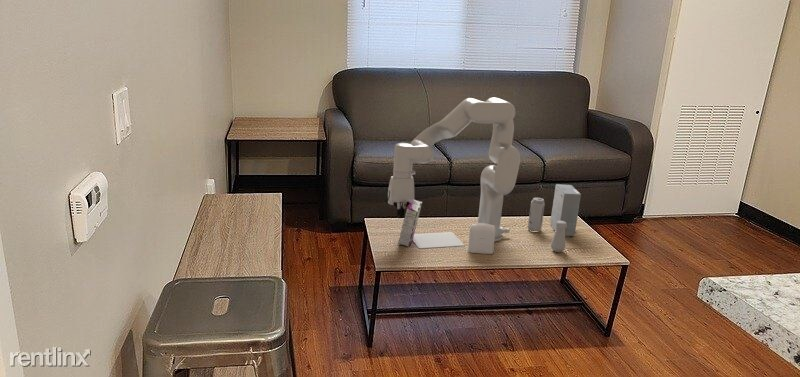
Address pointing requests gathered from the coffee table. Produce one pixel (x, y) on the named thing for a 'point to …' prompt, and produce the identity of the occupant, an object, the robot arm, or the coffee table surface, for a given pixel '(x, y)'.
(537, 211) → the energy drink can
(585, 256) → the coffee table surface
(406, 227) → the candy bar box
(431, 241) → the mat
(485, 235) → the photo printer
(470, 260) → the coffee table surface
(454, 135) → the robot arm
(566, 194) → the hard drive box
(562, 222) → the salt shaker
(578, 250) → the coffee table surface
